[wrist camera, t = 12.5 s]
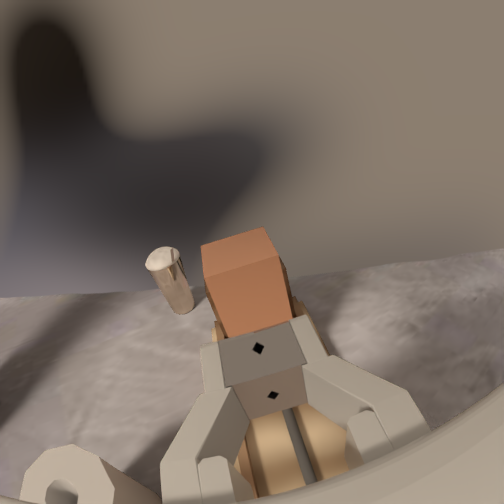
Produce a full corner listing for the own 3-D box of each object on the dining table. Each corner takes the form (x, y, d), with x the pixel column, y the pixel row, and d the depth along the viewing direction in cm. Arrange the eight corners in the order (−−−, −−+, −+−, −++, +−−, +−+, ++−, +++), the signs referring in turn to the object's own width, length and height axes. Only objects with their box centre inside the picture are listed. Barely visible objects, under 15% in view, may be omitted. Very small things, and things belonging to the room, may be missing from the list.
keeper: (301, 360, 28) (278, 254, 22) (246, 377, 28) (203, 278, 22) (287, 326, 33) (263, 226, 27) (237, 342, 33) (200, 245, 26)
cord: (339, 544, 13) (339, 543, 13) (327, 548, 13) (326, 547, 13) (265, 328, 34) (263, 323, 33) (257, 331, 34) (255, 325, 33)
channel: (407, 522, 13) (436, 504, 9) (260, 570, 13) (225, 572, 9) (303, 308, 37) (292, 250, 33) (214, 335, 36) (190, 282, 32)
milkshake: (188, 324, 39) (157, 260, 34) (163, 312, 42) (133, 253, 37) (210, 302, 42) (185, 238, 37) (184, 293, 45) (159, 234, 40)
